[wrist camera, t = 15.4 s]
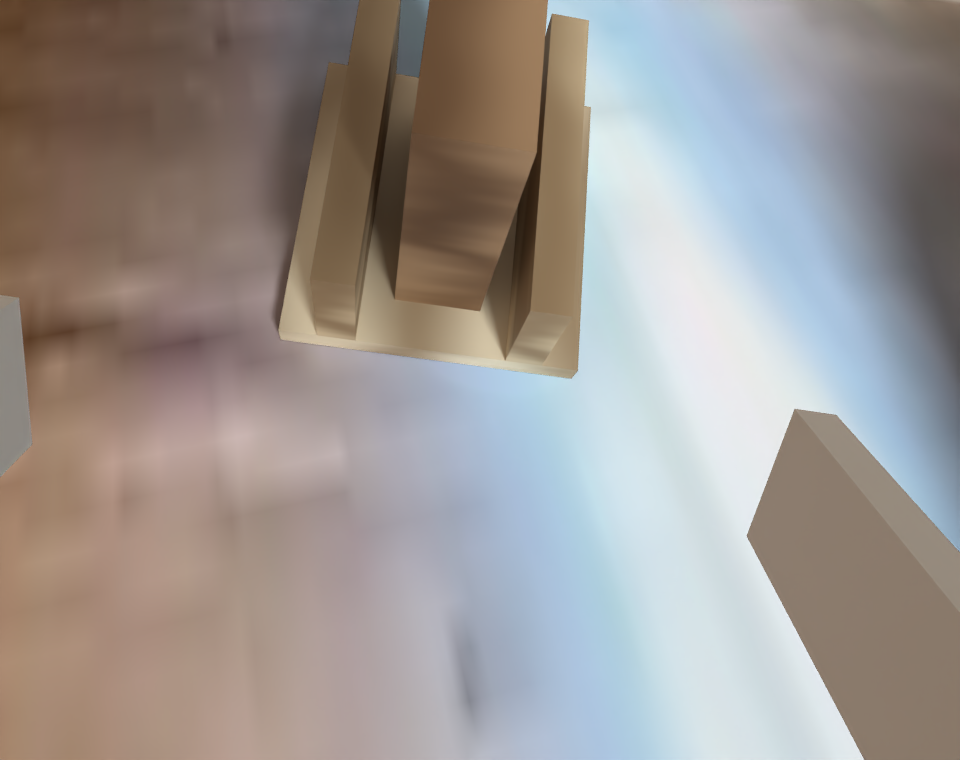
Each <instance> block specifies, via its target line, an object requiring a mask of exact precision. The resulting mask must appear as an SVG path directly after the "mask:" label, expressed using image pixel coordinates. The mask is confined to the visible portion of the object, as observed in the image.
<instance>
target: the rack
mask: <svg viewBox="0 0 960 760" xmlns="http://www.w3.org/2000/svg"><path fill="white" fill-rule="evenodd" d="M400 7H401V0H359V6H358V11H357V17H356V23H355V28H354V34H353V39H352V45H351V51H350V56H349V62H348V65H343V64H337V63H331V62H329V64H328V70H327V75H326V80H325V86H324V91H323V96H322V101H321V107H320V112H319V117H318V123H317V128H316V133H315V139H314V144H313V149H312V154H311V160H310V165H309V170H308V176H307V181H306V186H305V192H304V197H303V202H302V207H301V213H300V218H299V223H298V229H297V234H296V239H295V244H294V250H293V255H292V260H291V266H290V271H289V276H288V282H287V287H286V292H285V297H284V303H283V308H282V313H281V319H280V324H279V329H278V331H279V335H280V339H281V340H287V341H295V342H302V343H310V344H317V345H325V346H332V347H340V348H347V349H355V350H362V351H369V352H377V353H384V354H392V355H399V356H407V357H414V358H422V359H429V360H437V361H444V362H452V363H459V364H466V365H474V366H481V367H489V368H496V369H504V370H511V371H519V372H526V373H534V374H541V375H549V376H556V377H563V378H571V379H572V377H573V376H574V375H575V373H576V372H577V371H578V354H579V334H580V314H581V294H582V274H583V253H584V233H585V213H586V193H587V173H588V153H589V132H590V112H591V107H587V106H584V101H585V82H586V63H587V44H588V25H589V20H584V19H578V18H573V17H567V16H562V15H556V14H552V16H551V19H550V22H549V26H548V29H547V32H546V36H545V45H544V59H543V73H542V86H541V100H540V114H539V127H538V141H537V153H536V156H535V159H534V162H533V164H532V167H531V170H530V173H529V176H528V178H527V181H526V184H525V187H524V190H523V192H522V195H521V198H520V201H519V203H518V206H517V209H516V212H515V215H514V217H513V220H512V223H511V226H510V229H509V231H508V234H507V237H506V240H505V243H504V245H503V248H502V251H501V254H500V257H499V259H498V262H497V265H496V268H495V271H494V273H493V276H492V279H491V282H490V284H489V287H488V290H487V293H486V296H485V298H484V301H483V304H482V307H481V310H480V311H473V310H466V309H459V308H452V307H445V306H437V305H430V304H423V303H416V302H409V301H402V300H394V299H395V289H396V279H397V270H398V260H399V250H400V240H401V231H402V221H403V211H404V201H405V191H406V182H407V172H408V162H409V152H410V142H411V133H412V125H413V118H414V111H415V103H416V96H417V89H418V82H419V78H418V77H412V76H407V75H401V74H396V68H397V53H398V38H399V22H400Z"/></svg>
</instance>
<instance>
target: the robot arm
mask: <svg viewBox="0 0 960 760" xmlns="http://www.w3.org/2000/svg"><path fill="white" fill-rule="evenodd" d="M31 445H32V436H31V425H30V414H29V403H28V392H27V381H26V370H25V359H24V348H23V337H22V326H21V315H20V304H19V298H17V297H10V296H3V295H0V477H1V476H2V475H3V474H4V473H5V472H6V470H7V469H8V468H9V467H10V466H11V465H12V464H13V463H14V462H15V461H16V460H17V459H18V458H19V457H20V456H21V455H22V454H23V453H24V452H25V451H26V450H27V449H28V448H29V447H30V446H31ZM747 538H748V540H749V541H750V543H751V545H752V547H753V549H754V551H755V553H756V555H757V557H758V559H759V560H760V562H761V564H762V566H763V568H764V570H765V572H766V574H767V576H768V578H769V579H770V581H771V583H772V585H773V587H774V589H775V591H776V593H777V595H778V596H779V598H780V600H781V602H782V604H783V606H784V608H785V610H786V612H787V614H788V615H789V617H790V619H791V621H792V623H793V625H794V627H795V629H796V631H797V633H798V634H799V636H800V638H801V640H802V642H803V644H804V646H805V648H806V650H807V652H808V653H809V655H810V657H811V659H812V661H813V663H814V665H815V667H816V669H817V671H818V672H819V674H820V676H821V678H822V680H823V682H824V684H825V686H826V688H827V690H828V691H829V693H830V695H831V697H832V699H833V701H834V703H835V705H836V707H837V709H838V710H839V712H840V714H841V716H842V718H843V720H844V722H845V724H846V726H847V728H848V729H849V731H850V733H851V735H852V737H853V739H854V741H855V743H856V745H857V747H858V748H859V750H860V752H861V754H862V756H863V758H864V760H960V552H959V551H958V550H957V549H956V548H955V547H954V546H953V544H952V543H951V542H950V541H949V540H948V539H947V538H946V537H945V536H944V534H943V533H942V532H941V531H940V530H939V529H938V528H937V527H936V526H935V524H934V523H933V522H932V521H931V520H930V519H929V518H928V517H927V515H926V514H925V513H924V512H923V511H922V510H921V509H920V508H919V507H918V505H917V504H916V503H915V502H914V501H913V500H912V499H911V498H910V497H909V495H908V494H907V493H906V492H905V491H904V490H903V489H902V488H901V487H900V485H899V484H898V483H897V482H896V481H895V480H894V479H893V478H892V477H891V475H890V474H889V473H888V472H887V471H886V470H885V469H884V468H883V467H882V465H881V464H880V463H879V462H878V461H877V460H876V459H875V458H874V456H873V455H872V454H871V453H870V452H869V451H868V450H867V449H866V448H865V446H864V445H863V444H862V443H861V442H860V441H859V440H858V439H857V438H856V436H855V435H854V434H853V433H852V432H851V431H850V430H849V429H848V428H847V426H846V425H845V424H844V423H843V422H842V421H841V420H840V419H839V418H838V416H837V415H833V414H826V413H819V412H812V411H805V410H798V409H795V410H794V412H793V415H792V418H791V420H790V423H789V426H788V428H787V431H786V433H785V436H784V439H783V441H782V444H781V447H780V449H779V452H778V455H777V457H776V460H775V463H774V465H773V468H772V470H771V473H770V476H769V478H768V481H767V484H766V486H765V489H764V492H763V494H762V497H761V500H760V502H759V505H758V507H757V510H756V513H755V515H754V518H753V521H752V523H751V526H750V529H749V531H748V534H747Z"/></svg>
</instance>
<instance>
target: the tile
mask: <svg viewBox="0 0 960 760" xmlns="http://www.w3.org/2000/svg"><path fill="white" fill-rule="evenodd" d="M547 4H548V0H430V1H429V9H428V16H427V23H426V31H425V38H424V45H423V52H422V60H421V67H420V74H419V82H418V89H417V96H416V103H415V111H414V118H413V125H412V133H411V142H410V152H409V162H408V172H407V182H406V191H405V201H404V211H403V221H402V231H401V240H400V250H399V260H398V270H397V279H396V289H395V299H394V300H402V301H409V302H416V303H423V304H430V305H437V306H445V307H452V308H459V309H466V310H473V311H480V310H481V307H482V304H483V301H484V298H485V296H486V293H487V290H488V287H489V284H490V282H491V279H492V276H493V273H494V271H495V268H496V265H497V262H498V259H499V257H500V254H501V251H502V248H503V245H504V243H505V240H506V237H507V234H508V231H509V229H510V226H511V223H512V220H513V217H514V215H515V212H516V209H517V206H518V203H519V201H520V198H521V195H522V192H523V190H524V187H525V184H526V181H527V178H528V176H529V173H530V170H531V167H532V164H533V162H534V159H535V156H536V153H537V141H538V127H539V114H540V100H541V86H542V73H543V59H544V45H545V32H546V18H547Z"/></svg>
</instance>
